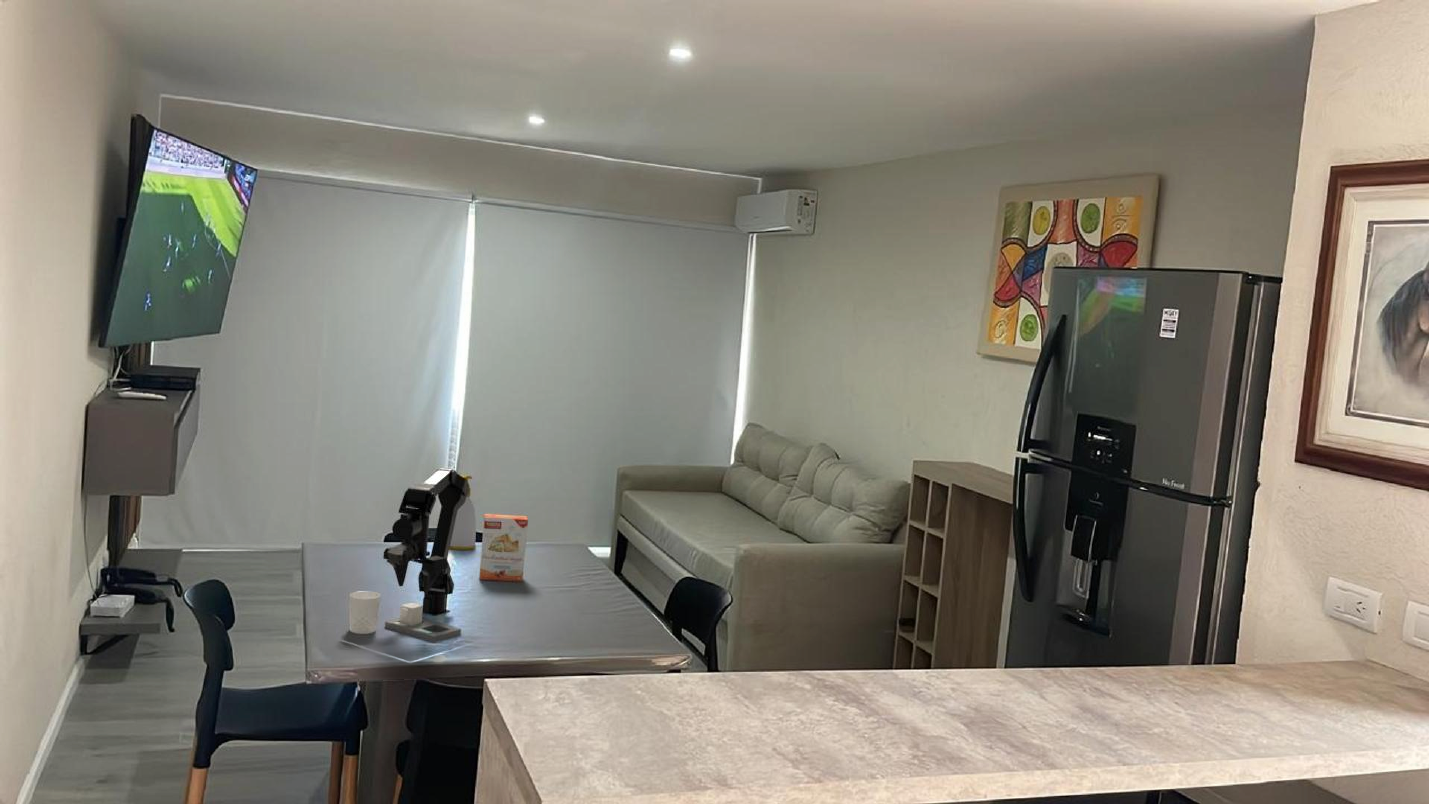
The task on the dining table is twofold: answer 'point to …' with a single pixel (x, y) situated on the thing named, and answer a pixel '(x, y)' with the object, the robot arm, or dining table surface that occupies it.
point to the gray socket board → (425, 629)
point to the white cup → (364, 611)
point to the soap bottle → (464, 525)
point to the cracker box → (503, 547)
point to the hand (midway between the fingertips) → (413, 589)
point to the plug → (411, 614)
